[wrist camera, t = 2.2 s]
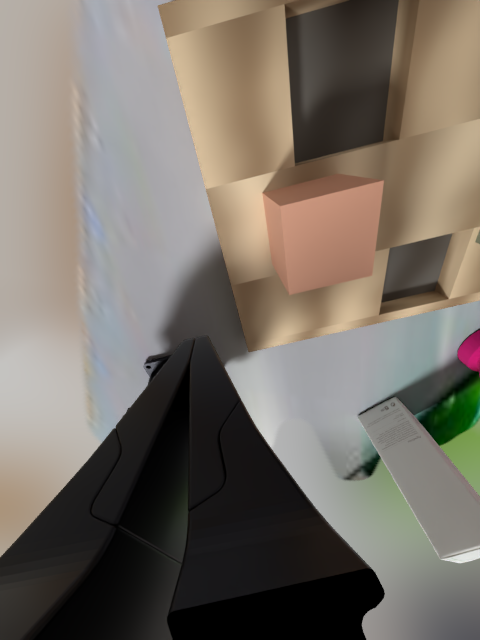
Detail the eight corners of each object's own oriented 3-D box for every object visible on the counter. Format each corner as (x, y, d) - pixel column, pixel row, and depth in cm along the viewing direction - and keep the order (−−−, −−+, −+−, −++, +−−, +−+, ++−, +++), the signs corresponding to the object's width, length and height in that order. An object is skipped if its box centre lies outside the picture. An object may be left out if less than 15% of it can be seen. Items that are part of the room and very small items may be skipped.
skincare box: (355, 415, 35) (436, 560, 23) (397, 393, 33) (512, 540, 20) (378, 433, 39) (457, 567, 27) (417, 415, 37) (523, 550, 24)
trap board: (246, 339, 25) (252, 375, 21) (164, 25, 12) (141, -39, 8) (477, 286, 24) (531, 313, 20) (646, -115, 11) (891, -267, 7)
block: (272, 263, 18) (289, 295, 14) (262, 192, 15) (280, 206, 11) (336, 248, 18) (372, 275, 14) (338, 173, 15) (384, 180, 11)
